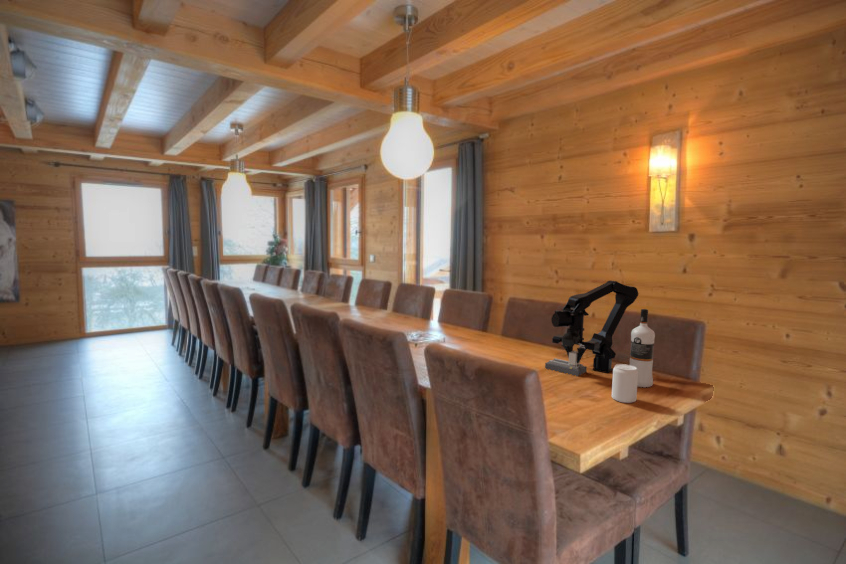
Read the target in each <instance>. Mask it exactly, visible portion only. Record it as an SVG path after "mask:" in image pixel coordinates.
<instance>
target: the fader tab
mask: <svg viewBox="0 0 846 564" xmlns="http://www.w3.org/2000/svg"><path fill="white" fill-rule="evenodd" d="M577 355H578V350H573V351H571V352H569V358H568V360H567V361H568V364H571V365H575V366H577V364H581V361H580V362H579V363H577Z"/></svg>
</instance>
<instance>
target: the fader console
mask: <svg viewBox="0 0 846 564" xmlns="http://www.w3.org/2000/svg"><path fill="white" fill-rule="evenodd" d="M568 361H569V360H565V359H559V358H553V359H550V360H548V361H546V362H545V363H544V369H545V368H546V369H545V370H549V369H551V370H550V371H553V370H555V371H554V372H557V371H559V373H562V372H564V373H563V374H566V373H568V374H567V375H570V374H572V375H571V376H574V375H576V376H575V377H580V376H582V375H583V373H584V374H586V373H587V366H586V365H584V364H583V363H580V364H577V366H575V365H571V364H568ZM585 372H586V373H585ZM581 374H582V375H581ZM579 375H580V376H579Z"/></svg>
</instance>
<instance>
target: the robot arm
mask: <svg viewBox="0 0 846 564" xmlns="http://www.w3.org/2000/svg"><path fill="white" fill-rule="evenodd" d="M611 293H615V296H614V298H615V303H614V305H613V307H612V309H611V311H610V313H609V315H608V316H607V319H606V321H605V323H604V325H603V326H602V329H601V331H599V332H598V333H596V332H594V333H593V334H592V337H591V339H590V340H587V341H585V337H584V331H585V327H584V321H585V316H589V315H590V314H589V313H588V312H587V311H586V310H587V309H588V308H589V307H590V306H591V304H592V303H593V302H595V301H597V300H600V299H601V298H603V297H605V296H607V295H609V294H611ZM639 294H640V293H639V291H638V288H637V287H635V286H631V285H625V284H624V283H620V282H618V281H617V280H607V281H606V282H604V283H603V284H601V285H599V286H596V287H595V288H593V289H591V290H588V291H587V292H584V293H578V294H575V295H572V296H569V298H568V300H567V302H566V304H565V305H564V306H563V307H562V309H561V310H557V309H555V310H554V313H553V314H552V316H551V324H552V326H553V327H554V328H559V327H561V328H563V327H564V328H565V327H568V328H567V329H566V333H564V334H563V335H562V334H556V335H554V336H552V338H551V343H553V344H560V343H561V345H560V346H561V347H563V348H564V350H565V352H566V354H567V357H568V359H569V352H571V351H574V350H573V349H574V346H575V345H576V346H579V347H577V348H576V351H578V355H577V363H579V362H580V363H581V359H582V358H583V356H584V354H585V353H586V351H591V352H592V354H593V355H594V358H593V365H592V370H594V371H597V372H601V373H607V374H608V373H610V372H611V371H612V372H613V368H612V365H613V363H612V361H613V359H615V357H616V355H617V354H616V352H615V351H614V350H613V349H612V346H613V336H614V333H615V331H616V329H617V328H618V326H619V323H620V321H621V320H622V318H623V316H624V314H625V312H626V310H627V308H628V307H629V306H631V305H632V304H633V303H634V302H636V300H637V299H638V296H639Z"/></svg>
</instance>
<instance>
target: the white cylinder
mask: <svg viewBox="0 0 846 564" xmlns="http://www.w3.org/2000/svg"><path fill="white" fill-rule="evenodd" d="M612 369H613V370H612V380H611V381H612V384H611V398H612V399H613V400H615V401H617V402H620V403H623V404H632V403H635V402H636V401H637V395H638V387H637V383H638V371H637V368H636V367H634V366H631V365H630V364H625V363H624V364H623V363H617V364H615V365H614V367H613V368H612Z"/></svg>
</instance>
